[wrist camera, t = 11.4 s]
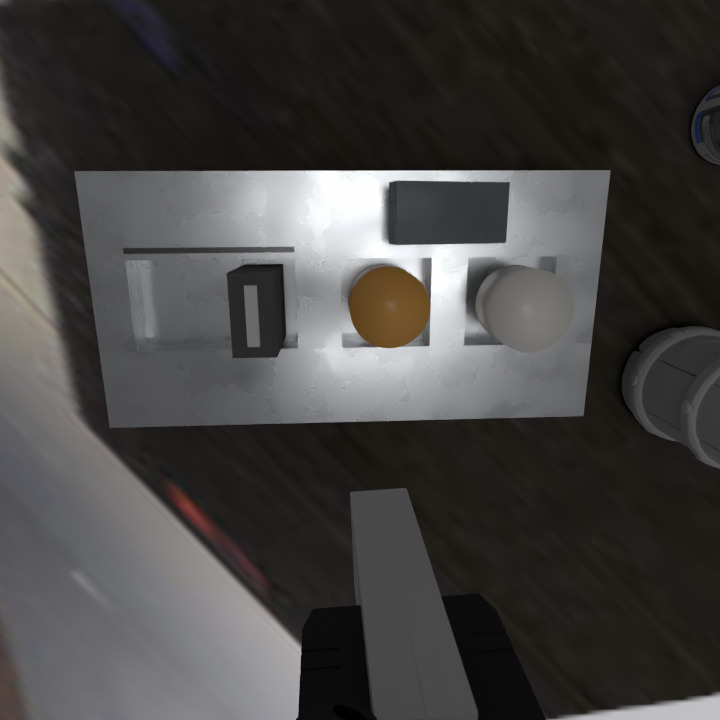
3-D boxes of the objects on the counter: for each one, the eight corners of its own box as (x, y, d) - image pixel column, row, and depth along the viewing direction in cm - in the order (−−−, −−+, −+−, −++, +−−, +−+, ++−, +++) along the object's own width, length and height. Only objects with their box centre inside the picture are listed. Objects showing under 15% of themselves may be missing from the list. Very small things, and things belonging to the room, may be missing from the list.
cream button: (473, 340, 29) (488, 353, 26) (477, 265, 28) (494, 270, 25) (546, 339, 30) (569, 351, 27) (553, 264, 28) (577, 269, 26)
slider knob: (248, 336, 31) (231, 359, 26) (244, 264, 30) (225, 273, 25) (286, 335, 31) (276, 358, 26) (283, 264, 30) (272, 272, 25)
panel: (135, 404, 34) (105, 431, 29) (107, 177, 30) (68, 169, 26) (555, 394, 35) (588, 419, 31) (576, 176, 32) (616, 169, 27)
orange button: (348, 336, 30) (350, 349, 28) (347, 264, 29) (349, 268, 26) (419, 335, 31) (428, 347, 28) (421, 263, 30) (431, 268, 27)
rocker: (388, 244, 27) (396, 245, 25) (389, 182, 26) (396, 180, 25) (494, 242, 28) (506, 243, 27) (498, 183, 27) (510, 182, 26)
